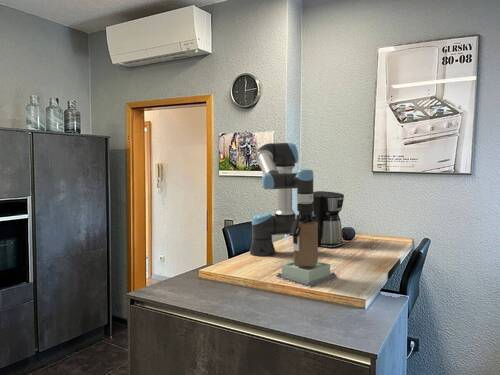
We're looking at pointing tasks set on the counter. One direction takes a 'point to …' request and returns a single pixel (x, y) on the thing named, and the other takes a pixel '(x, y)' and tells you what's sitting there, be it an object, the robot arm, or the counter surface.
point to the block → (307, 245)
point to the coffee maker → (328, 218)
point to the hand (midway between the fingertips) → (305, 247)
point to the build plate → (306, 273)
